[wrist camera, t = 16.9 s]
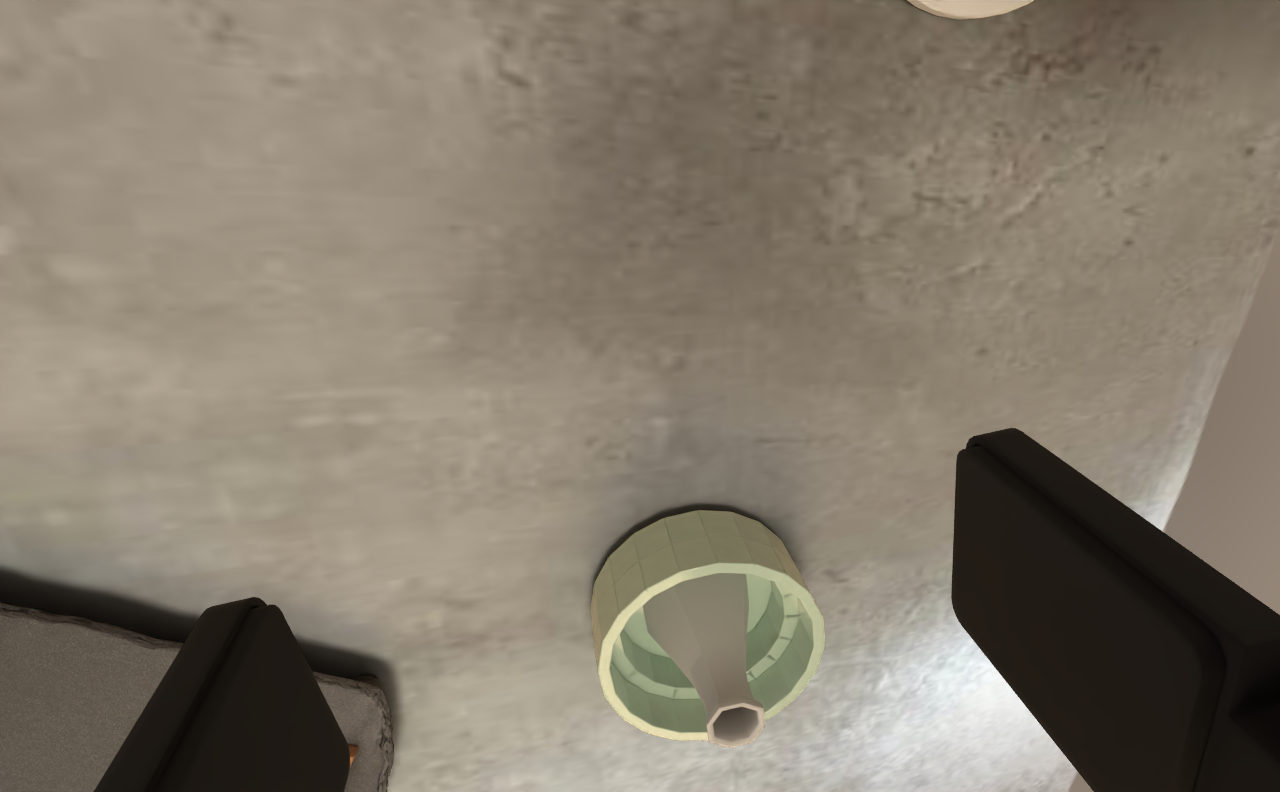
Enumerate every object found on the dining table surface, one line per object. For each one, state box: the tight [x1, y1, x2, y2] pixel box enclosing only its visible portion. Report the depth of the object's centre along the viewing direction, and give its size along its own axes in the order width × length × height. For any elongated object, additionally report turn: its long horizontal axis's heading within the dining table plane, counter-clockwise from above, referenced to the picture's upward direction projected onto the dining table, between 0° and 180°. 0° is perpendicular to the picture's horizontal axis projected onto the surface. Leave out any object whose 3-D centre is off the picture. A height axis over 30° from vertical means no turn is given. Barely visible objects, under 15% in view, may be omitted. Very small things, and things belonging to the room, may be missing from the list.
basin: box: [590, 510, 825, 740], centre depth 43 cm, size 13×13×6 cm
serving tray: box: [0, 602, 394, 792], centre depth 41 cm, size 39×23×6 cm, turn 64°
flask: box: [643, 573, 765, 747], centre depth 41 cm, size 7×7×10 cm
